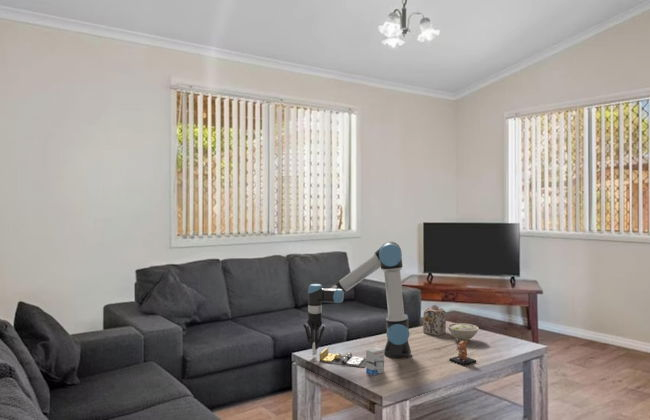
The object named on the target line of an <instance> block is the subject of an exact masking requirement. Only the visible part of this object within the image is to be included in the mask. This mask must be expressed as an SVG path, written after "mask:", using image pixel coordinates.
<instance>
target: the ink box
mask: <svg viewBox="0 0 650 420" xmlns="http://www.w3.org/2000/svg"><path fill="white" fill-rule="evenodd" d="M384 349H385V348H381V347H377V346H376V347H372V348H369V349H366V350H365V351H366V352H365V353H366V355H365V356H366V357H365V358H366V366H365V371H366V372H365V373H366V374H368V375H371V376H374V375H375V376H376V375H378V374H384V373H385V355H384Z"/></svg>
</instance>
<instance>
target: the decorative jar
mask: <svg viewBox="0 0 650 420" xmlns="http://www.w3.org/2000/svg"><path fill="white" fill-rule="evenodd" d="M422 317H423V320H422V321H423V322H422V323H423V325H422V326H423V327H422V331H423V334H425V335H427V334H428V335H431V336H432V335H433V336H438V337H439V336H441V335H443V334H445V333H446V332H447V329H446V328H447V312H446V310H444V309H443V308H441V307H439V305H436V304H432V305H431V306H430V307H426V308H425V310H424V312H423V316H422Z"/></svg>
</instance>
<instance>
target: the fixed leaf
mask: <svg viewBox="0 0 650 420" xmlns="http://www.w3.org/2000/svg"><path fill="white" fill-rule="evenodd" d="M345 356H346V357H343V358H342V359H341V363H342V364H345V363H346V362H347V361H348V359H350V360H349V361H348V362H347V363H346V365H354V366H359V365H360V364H361V363H362V362H363V360H364V358H365V357H361V356H353V352H350V351H348V352H347V353H346V354H345Z"/></svg>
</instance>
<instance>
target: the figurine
mask: <svg viewBox="0 0 650 420" xmlns="http://www.w3.org/2000/svg"><path fill="white" fill-rule="evenodd" d="M459 341H460V342H457V348H456V349H455V351H458V353H457V356H453V357H450V358H448V361H449V362H450V361H451V362H450V363H453V362H454V363H453V364H456V363H457V365H460V366H463V367H467V366H470V364H471V365H474V364H476V363H477V359H473V358H471V357H467V356H468V350H467V344H468V342H466V341H461V340H459ZM473 363H474V364H473Z"/></svg>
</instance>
